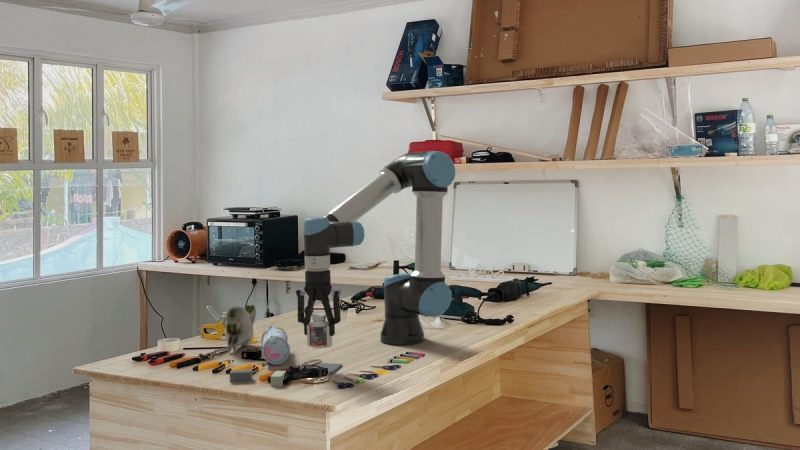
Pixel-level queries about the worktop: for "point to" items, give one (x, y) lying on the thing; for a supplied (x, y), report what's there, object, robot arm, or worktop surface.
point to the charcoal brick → (241, 375)
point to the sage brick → (277, 378)
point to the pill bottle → (319, 331)
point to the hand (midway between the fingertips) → (319, 345)
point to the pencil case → (275, 345)
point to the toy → (239, 325)
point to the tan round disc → (312, 380)
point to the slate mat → (330, 367)
